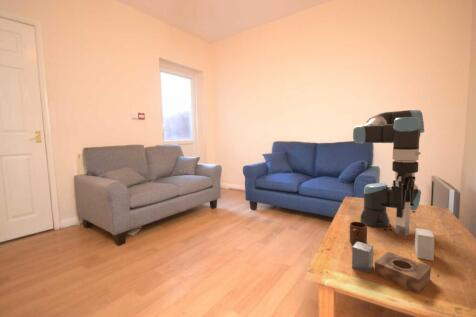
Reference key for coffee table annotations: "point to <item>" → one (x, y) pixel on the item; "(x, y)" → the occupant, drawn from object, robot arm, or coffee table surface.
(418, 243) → the small box
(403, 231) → the round peg
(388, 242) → the coffee table surface
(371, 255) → the square block
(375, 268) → the socket block
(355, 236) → the mug
